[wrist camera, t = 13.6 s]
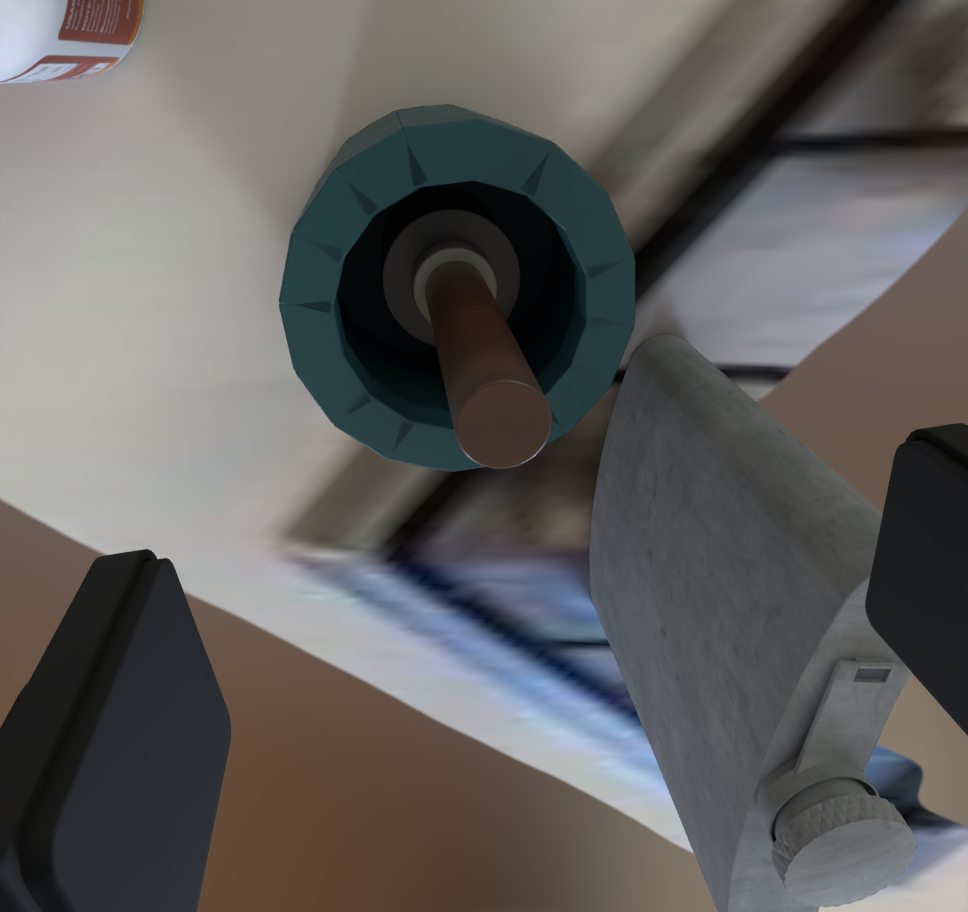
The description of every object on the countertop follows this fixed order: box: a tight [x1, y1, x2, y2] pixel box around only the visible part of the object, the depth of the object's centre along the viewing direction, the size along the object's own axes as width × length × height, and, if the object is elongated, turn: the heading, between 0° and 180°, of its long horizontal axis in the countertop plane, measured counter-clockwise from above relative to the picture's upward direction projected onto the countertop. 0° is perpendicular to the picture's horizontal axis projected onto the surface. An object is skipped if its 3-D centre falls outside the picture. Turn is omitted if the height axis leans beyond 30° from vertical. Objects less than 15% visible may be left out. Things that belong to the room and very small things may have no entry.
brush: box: [380, 187, 552, 469], centre depth 22 cm, size 5×5×17 cm
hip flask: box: [589, 334, 917, 912], centre depth 28 cm, size 16×4×20 cm, turn 176°
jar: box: [279, 104, 635, 472], centre depth 26 cm, size 10×10×10 cm
